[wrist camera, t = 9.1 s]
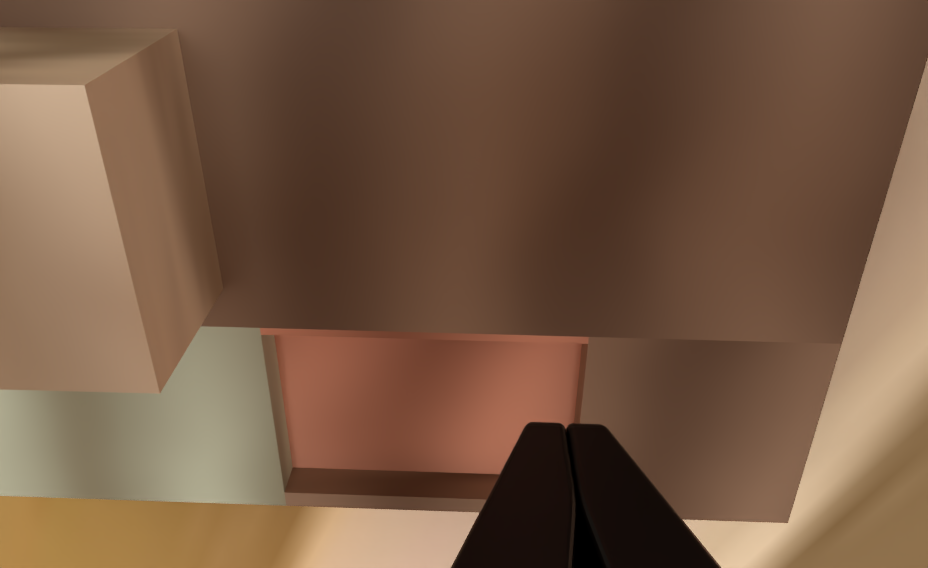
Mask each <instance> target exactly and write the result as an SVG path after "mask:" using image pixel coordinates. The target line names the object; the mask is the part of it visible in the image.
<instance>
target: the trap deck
mask: <svg viewBox="0 0 928 568" xmlns="http://www.w3.org/2000/svg"><path fill="white" fill-rule="evenodd" d="M0 27H45V28H151V29H177V31H178V37H179V43H180V48H181V54H182V59H183V65H184V71H185V76H186V82H187V87H188V93H189V99H190V104H191V110H192V115H193V121H194V127H195V132H196V138H197V143H198V149H199V155H200V160H201V166H202V171H203V177H204V183H205V188H206V194H207V200H208V205H209V211H210V216H211V222H212V228H213V233H214V239H215V244H216V250H217V256H218V261H219V267H220V272H221V278H222V284H223V290H222V292H221V294H220V295H219V297H218V299H217V300H216V302H215V304H214V305H213V307H212V309H211V310H210V312H209V313H208V315H207V317H206V318H205V320H204V322H203V323H202V325H201V327H200V328H199V330H198V332H197V333H196V335H195V337H194V338H193V340H192V342H191V343H190V345H189V347H188V348H187V350H186V351H185V353H184V355H183V356H182V358H181V360H180V361H179V363H178V365H177V366H176V368H175V370H174V371H173V373H172V375H171V376H170V378H169V380H168V381H167V383H166V384H165V386H164V388H163V389H162V391H161V393H160V394H155V393H117V392H78V391H39V390H0V496H24V497H53V498H82V499H111V500H140V501H169V502H198V503H227V504H256V505H285V506H314V507H343V508H372V509H400V510H429V511H458V512H480V511H481V509H482V507H483V505H484V503H485V502H486V500H487V498H488V496H489V494H490V492H491V490H492V488H493V486H494V484H495V482H496V480H497V479H498V477H499V475H500V473H501V471H502V469H503V467H504V465H505V463H506V461H507V459H508V457H509V456H510V454H511V452H512V450H513V448H514V446H515V444H516V442H517V440H518V438H519V436H520V434H521V432H522V431H523V429H524V427H525V426H526V425H527V424H528V423H530V422H552V423H561V424H563V425H564V427H565V428H567V426H568V425H569V424H571V423H582V424H601V425H604V426H605V427H607V428H608V429H609V430H610V432H611V433H612V434H613V435H614V437H615V438H616V439H617V440H618V441H619V443H620V444H621V445H622V446H623V448H624V449H625V450H626V451H627V453H628V454H629V455H630V456H631V457H632V459H633V460H634V461H635V462H636V464H637V465H638V466H639V467H640V469H641V470H642V471H643V472H644V473H645V475H646V476H647V477H648V478H649V480H650V481H651V482H652V483H653V484H654V486H655V487H656V488H657V489H658V491H659V492H660V493H661V494H662V496H663V497H664V498H665V499H666V500H667V502H668V503H669V504H670V505H671V507H672V508H673V509H674V510H675V512H676V513H677V514H678V515H679V516H680V518H681V519H690V520H719V521H747V522H776V523H788V520H789V517H790V514H791V510H792V507H793V504H794V500H795V497H796V494H797V490H798V487H799V484H800V480H801V477H802V474H803V470H804V467H805V464H806V460H807V457H808V454H809V450H810V447H811V444H812V440H813V437H814V434H815V430H816V427H817V424H818V420H819V417H820V414H821V410H822V407H823V404H824V401H825V397H826V394H827V391H828V387H829V384H830V381H831V377H832V374H833V371H834V367H835V364H836V361H837V357H838V354H839V351H840V347H841V344H842V341H843V337H844V334H845V331H846V327H847V324H848V321H849V317H850V314H851V311H852V307H853V304H854V301H855V297H856V294H857V291H858V287H859V284H860V281H861V277H862V274H863V271H864V267H865V264H866V261H867V257H868V254H869V251H870V248H871V244H872V241H873V238H874V234H875V231H876V228H877V224H878V221H879V218H880V214H881V211H882V208H883V204H884V201H885V198H886V194H887V191H888V188H889V184H890V181H891V178H892V174H893V171H894V168H895V164H896V161H897V158H898V154H899V151H900V148H901V144H902V141H903V138H904V134H905V131H906V128H907V124H908V121H909V118H910V114H911V111H912V108H913V104H914V101H915V98H916V95H917V91H918V88H919V85H920V81H921V78H922V75H923V71H924V68H925V65H926V61H927V58H928V0H0Z"/></svg>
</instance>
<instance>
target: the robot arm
mask: <svg viewBox="0 0 928 568" xmlns="http://www.w3.org/2000/svg"><path fill="white" fill-rule="evenodd" d="M451 568H721V567H720V566H719V564H718V563H717V562H716V561H715V559H714V558H713V557H712V556H711V555H710V553H709V552H708V551H707V550H706V548H705V547H704V546H703V545H702V543H701V542H700V541H699V540H698V539H697V537H696V536H695V535H694V534H693V532H692V531H691V530H690V529H689V527H688V526H687V525H686V524H685V523H684V521H683V520H682V519H681V518H680V516H679V515H678V514H677V513H676V512H675V510H674V509H673V508H672V507H671V505H670V504H669V503H668V502H667V500H666V499H665V498H664V497H663V496H662V494H661V493H660V492H659V491H658V489H657V488H656V487H655V486H654V484H653V483H652V482H651V481H650V480H649V478H648V477H647V476H646V475H645V473H644V472H643V471H642V470H641V469H640V467H639V466H638V465H637V464H636V462H635V461H634V460H633V459H632V457H631V456H630V455H629V454H628V453H627V451H626V450H625V449H624V448H623V446H622V445H621V444H620V443H619V441H618V440H617V439H616V438H615V437H614V435H613V434H612V433H611V432H610V430H609V429H608V428H607V427H605V426H604V425H601V424H582V423H571V424H569V425H568V426H567V428H565V427H564V425H563V424H561V423H552V422H530V423H528V424H527V425H526V426H525V427H524V429H523V431H522V432H521V434H520V436H519V438H518V440H517V442H516V444H515V446H514V448H513V450H512V452H511V454H510V456H509V457H508V459H507V461H506V463H505V465H504V467H503V469H502V471H501V473H500V475H499V477H498V479H497V480H496V482H495V484H494V486H493V488H492V490H491V492H490V494H489V496H488V498H487V500H486V502H485V503H484V505H483V507H482V509H481V511H480V513H479V515H478V517H477V519H476V521H475V523H474V525H473V527H472V528H471V530H470V532H469V534H468V536H467V538H466V540H465V542H464V544H463V546H462V548H461V550H460V551H459V553H458V555H457V557H456V559H455V561H454V563H453V565H452V567H451Z"/></svg>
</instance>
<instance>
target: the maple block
mask: <svg viewBox="0 0 928 568" xmlns="http://www.w3.org/2000/svg"><path fill="white" fill-rule="evenodd" d="M222 290H223V284H222V278H221V272H220V267H219V261H218V256H217V250H216V244H215V239H214V233H213V228H212V222H211V216H210V211H209V205H208V200H207V194H206V188H205V183H204V177H203V171H202V166H201V160H200V155H199V149H198V143H197V138H196V132H195V127H194V121H193V115H192V110H191V104H190V99H189V93H188V87H187V82H186V76H185V71H184V65H183V59H182V54H181V48H180V43H179V37H178V31H177V29H151V28H45V27H0V390H39V391H78V392H117V393H155V394H160V393H161V391H162V389H163V388H164V386H165V384H166V383H167V381H168V380H169V378H170V376H171V375H172V373H173V371H174V370H175V368H176V366H177V365H178V363H179V361H180V360H181V358H182V356H183V355H184V353H185V351H186V350H187V348H188V347H189V345H190V343H191V342H192V340H193V338H194V337H195V335H196V333H197V332H198V330H199V328H200V327H201V325H202V323H203V322H204V320H205V318H206V317H207V315H208V313H209V312H210V310H211V309H212V307H213V305H214V304H215V302H216V300H217V299H218V297H219V295H220V294H221V292H222Z"/></svg>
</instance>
